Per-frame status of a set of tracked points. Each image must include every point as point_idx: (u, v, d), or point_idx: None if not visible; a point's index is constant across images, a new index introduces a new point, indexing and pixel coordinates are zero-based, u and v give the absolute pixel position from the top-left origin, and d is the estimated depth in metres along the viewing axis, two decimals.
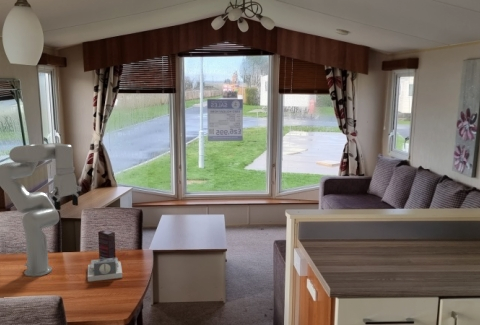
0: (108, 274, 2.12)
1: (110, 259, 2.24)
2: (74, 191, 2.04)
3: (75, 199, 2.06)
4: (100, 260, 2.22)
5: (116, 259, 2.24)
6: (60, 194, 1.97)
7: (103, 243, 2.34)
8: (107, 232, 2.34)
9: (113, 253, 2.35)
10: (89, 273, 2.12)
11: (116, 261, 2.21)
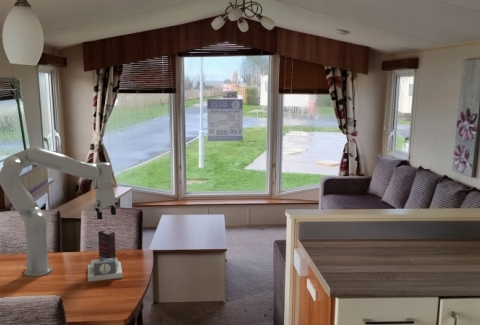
0: (108, 274, 2.12)
1: (110, 259, 2.24)
2: (113, 202, 2.35)
3: (113, 209, 2.37)
4: (100, 260, 2.22)
5: (116, 259, 2.24)
6: (102, 206, 2.28)
7: (103, 243, 2.34)
8: (107, 232, 2.34)
9: (113, 253, 2.35)
10: (89, 273, 2.12)
11: (116, 261, 2.21)
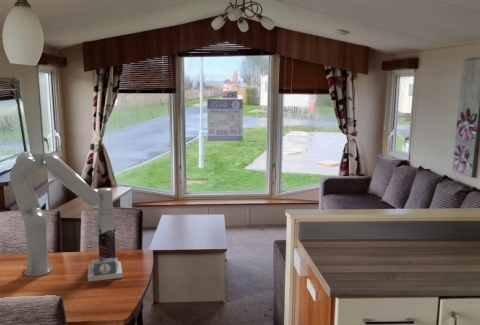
0: (108, 274, 2.12)
1: (110, 259, 2.24)
2: (113, 227, 2.37)
3: None
4: (100, 260, 2.22)
5: (116, 259, 2.24)
6: (102, 231, 2.30)
7: None
8: (107, 232, 2.34)
9: (113, 253, 2.35)
10: (89, 273, 2.12)
11: (116, 261, 2.21)
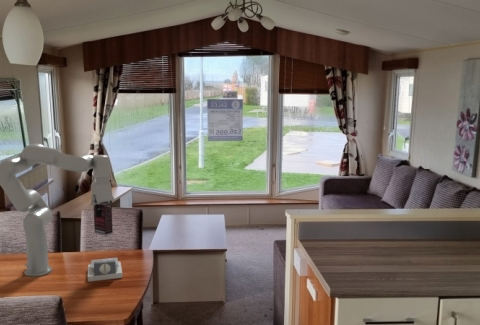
0: (108, 274, 2.12)
1: (110, 259, 2.24)
2: (110, 198, 2.18)
3: None
4: (100, 260, 2.22)
5: (116, 259, 2.24)
6: (98, 201, 2.12)
7: None
8: (103, 203, 2.16)
9: (110, 226, 2.17)
10: (89, 273, 2.12)
11: (116, 261, 2.21)
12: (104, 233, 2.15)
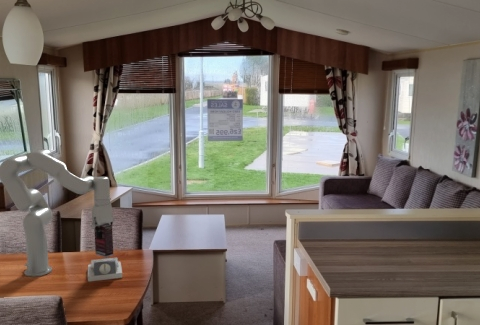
0: (108, 274, 2.12)
1: (110, 259, 2.24)
2: (110, 220, 2.18)
3: None
4: (100, 260, 2.22)
5: (116, 259, 2.24)
6: (98, 223, 2.12)
7: None
8: (104, 225, 2.16)
9: (110, 247, 2.17)
10: (89, 273, 2.12)
11: (116, 261, 2.21)
12: (105, 255, 2.15)
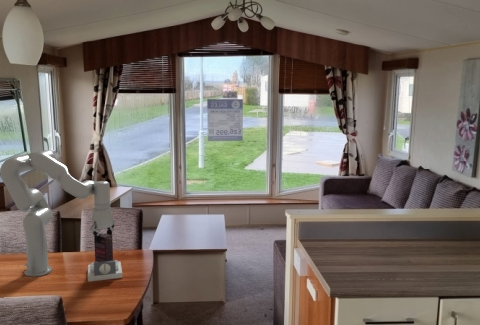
0: (108, 274, 2.12)
1: None
2: (110, 224, 2.19)
3: (110, 233, 2.20)
4: None
5: (116, 261, 2.24)
6: (98, 228, 2.12)
7: (99, 246, 2.16)
8: (104, 235, 2.17)
9: (110, 258, 2.18)
10: (89, 273, 2.12)
11: (116, 264, 2.21)
12: None
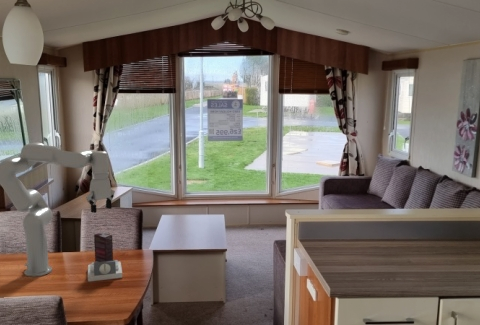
0: (108, 274, 2.12)
1: None
2: (108, 195, 2.16)
3: (109, 202, 2.19)
4: None
5: (116, 261, 2.24)
6: (96, 198, 2.10)
7: (99, 246, 2.17)
8: (104, 235, 2.17)
9: (110, 258, 2.18)
10: (89, 273, 2.12)
11: (116, 264, 2.21)
12: None
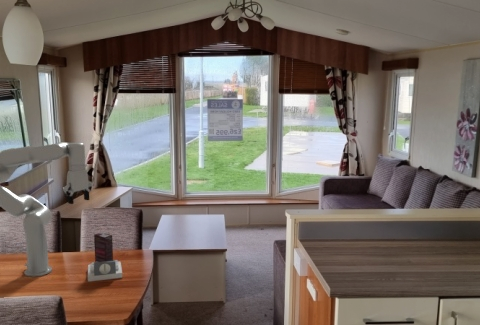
0: (108, 274, 2.12)
1: None
2: (86, 186, 2.17)
3: (87, 194, 2.19)
4: None
5: (116, 261, 2.24)
6: (73, 189, 2.11)
7: (99, 246, 2.17)
8: (104, 235, 2.17)
9: (110, 257, 2.18)
10: (89, 273, 2.12)
11: (116, 264, 2.21)
12: None
